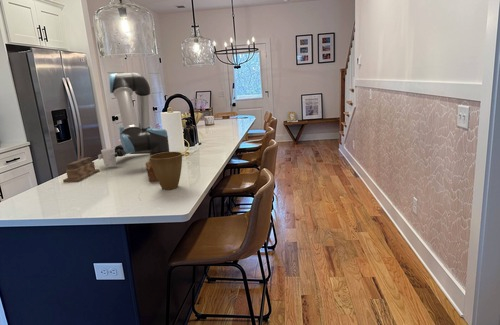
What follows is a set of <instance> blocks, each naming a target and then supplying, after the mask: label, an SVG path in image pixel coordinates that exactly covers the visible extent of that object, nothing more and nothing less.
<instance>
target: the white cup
mask: <svg viewBox="0 0 500 325" xmlns="http://www.w3.org/2000/svg"><path fill="white" fill-rule="evenodd" d="M100 151H101V152H100V153H102V156H103V158H102V161H103V163H104V164H103V165H104V167H111V166H115V165H117V159H116V158H117V157H116V158H114V159H111V154H114V153H115V147H114V148H113V147H110V148H104V149H101V150H100Z"/></svg>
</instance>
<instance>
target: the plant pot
mask: <svg viewBox="0 0 500 325" xmlns="http://www.w3.org/2000/svg"><path fill="white" fill-rule="evenodd" d="M149 159H150V162H151V165H152V168H153V171H154V173H155V176H156V178H157V180H158V181H157V182H158V184H159V186H160V187H161V189H162V190H165V191H169V190H174V189H178V187H179V183H180V179H181V173H182V165H183V153H182V152H180V151H169V152H163V153H158V154H154V155H151V156H150V155H149Z"/></svg>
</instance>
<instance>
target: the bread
mask: <svg viewBox="0 0 500 325" xmlns="http://www.w3.org/2000/svg"><path fill="white" fill-rule="evenodd" d="M145 167H146V172H147V176H148V181H149V183H155V182H158V180H157V178H156V176H155V173H154V171H153V168H152V165H151V162H150V160H148V161H146V162H145Z"/></svg>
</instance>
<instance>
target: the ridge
mask: <svg viewBox="0 0 500 325" xmlns="http://www.w3.org/2000/svg"><path fill="white" fill-rule="evenodd" d="M66 168H67V169H66V170H65V171H66V172H65V173H66V176H67V177H66V178H64V179H62V182H63V183H79V182H80V183H81V182H82V181H84V180H85V179H88V178H90V177H92V176H94V175H95V174H98V173H100V168H96V166H95V162H94V161H93V158H92V156H91V157H89V156H88V157H86V156H85V157H82V158H80V159H77V160H76V161H72V162H69V163H67V164H66Z"/></svg>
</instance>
